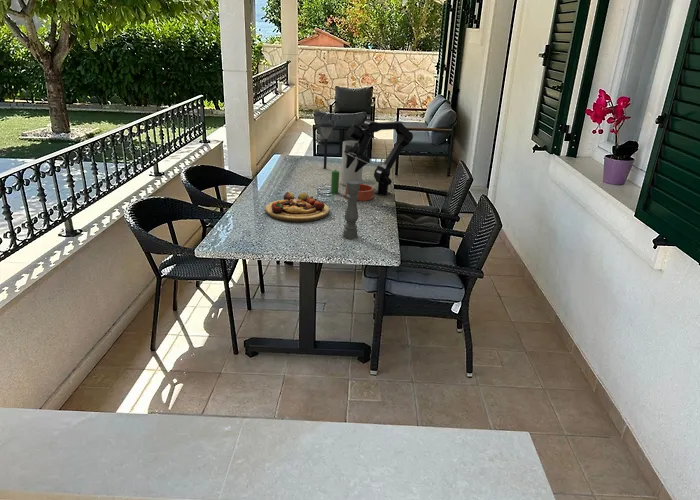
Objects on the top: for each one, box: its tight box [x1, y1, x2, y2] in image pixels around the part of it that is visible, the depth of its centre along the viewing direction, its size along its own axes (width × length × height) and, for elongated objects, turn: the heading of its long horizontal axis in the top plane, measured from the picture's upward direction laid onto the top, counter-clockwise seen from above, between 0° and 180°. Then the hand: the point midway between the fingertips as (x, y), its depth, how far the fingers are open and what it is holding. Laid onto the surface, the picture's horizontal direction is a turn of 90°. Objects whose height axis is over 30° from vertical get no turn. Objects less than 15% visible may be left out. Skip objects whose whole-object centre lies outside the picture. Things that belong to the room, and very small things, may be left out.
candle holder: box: [342, 181, 360, 240], centre depth 222 cm, size 6×6×25 cm
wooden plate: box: [264, 190, 330, 222], centre depth 252 cm, size 32×32×8 cm
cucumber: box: [330, 169, 340, 195], centre depth 285 cm, size 4×4×13 cm
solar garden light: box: [316, 121, 336, 170], centre depth 332 cm, size 12×12×30 cm
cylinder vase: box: [340, 140, 364, 187], centre depth 302 cm, size 12×12×25 cm
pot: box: [344, 183, 375, 202], centre depth 282 cm, size 16×16×6 cm
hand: (350, 170), depth 275 cm, fingers open, 9 cm apart
